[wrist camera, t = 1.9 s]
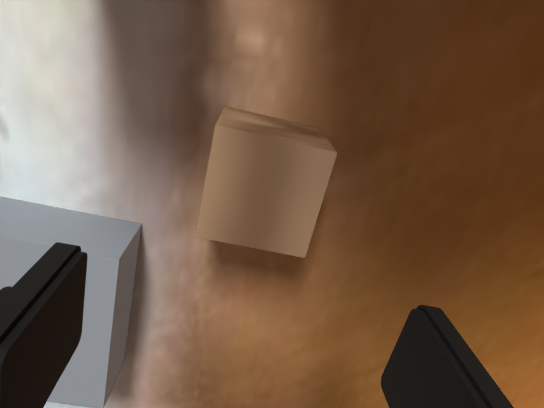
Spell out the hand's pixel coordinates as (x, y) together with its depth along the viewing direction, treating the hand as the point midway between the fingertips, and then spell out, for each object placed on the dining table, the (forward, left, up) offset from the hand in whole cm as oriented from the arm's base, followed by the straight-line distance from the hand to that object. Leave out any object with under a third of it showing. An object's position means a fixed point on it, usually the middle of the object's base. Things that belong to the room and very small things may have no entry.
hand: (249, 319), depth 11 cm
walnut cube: (-1, 0, -15) cm, 15 cm away
